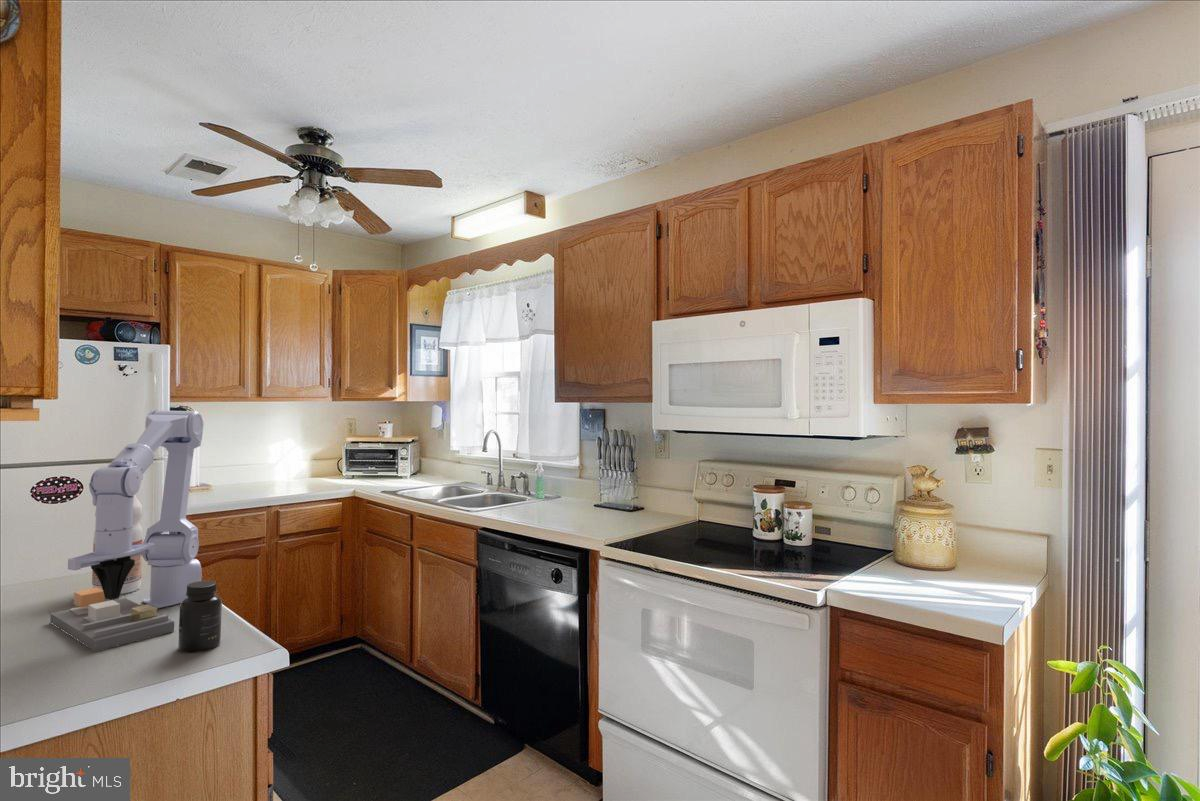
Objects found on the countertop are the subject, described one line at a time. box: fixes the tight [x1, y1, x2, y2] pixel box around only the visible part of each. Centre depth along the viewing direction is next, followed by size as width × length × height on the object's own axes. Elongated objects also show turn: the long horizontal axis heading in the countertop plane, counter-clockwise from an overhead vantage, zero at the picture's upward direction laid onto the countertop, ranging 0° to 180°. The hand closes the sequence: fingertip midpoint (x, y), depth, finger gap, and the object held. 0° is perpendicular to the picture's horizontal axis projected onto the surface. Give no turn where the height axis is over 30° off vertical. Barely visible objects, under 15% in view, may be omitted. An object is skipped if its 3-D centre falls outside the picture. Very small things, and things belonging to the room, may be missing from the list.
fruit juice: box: [91, 494, 144, 595], centre depth 151 cm, size 9×9×28 cm
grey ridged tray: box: [49, 597, 175, 652], centre depth 127 cm, size 13×24×3 cm, turn 56°
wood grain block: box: [131, 604, 158, 622], centre depth 126 cm, size 3×4×2 cm
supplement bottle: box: [178, 580, 223, 654], centre depth 119 cm, size 7×7×12 cm
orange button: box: [73, 587, 106, 608], centre depth 131 cm, size 4×4×2 cm
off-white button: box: [88, 599, 120, 621], centre depth 127 cm, size 4×4×2 cm
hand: (112, 598), depth 121 cm, fingers closed
